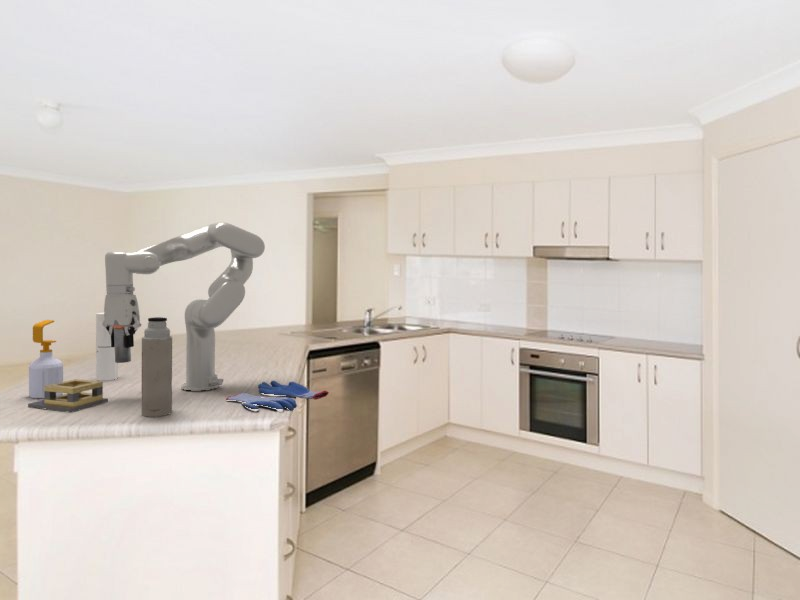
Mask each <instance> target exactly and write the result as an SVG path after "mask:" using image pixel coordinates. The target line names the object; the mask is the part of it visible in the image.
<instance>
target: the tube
mask: <svg viewBox="0 0 800 600" xmlns="http://www.w3.org/2000/svg"><path fill="white" fill-rule="evenodd" d="M128 328H129V330H130V327H128ZM113 329H114V347H115V362H116V363H118V364H123V363H129V362H131V361H132V354H131V350H132V349H131V348H132V347H129V348H125V345H124V336H125V335H126V334H125V329H124V326H121V325H119V323H118V322H117V320H115V321H114V325H113Z"/></svg>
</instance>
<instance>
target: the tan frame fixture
mask: <svg viewBox="0 0 800 600" xmlns="http://www.w3.org/2000/svg"><path fill="white" fill-rule="evenodd" d="M103 383H104V382H103V381H98V380H90V379H77V378H75V379H71V380H70V379H69V380H66V381H63V382H60V383H56V384H51V385H46V386H44V398H43V400H38V401H33V402H30V403H28V404H27V407H28V408H31V407H37V408H36V409H40V408H46V409H45V410H48V409H53V410H52V411H56V410H60V411H59V412H65V411H69V412H68V413H73V412H72V411H74V412H77V411H79V409H81V410H83V408H84V409H86V408H87V407H88V408H90V407H93V406H97V405H101V404H105V403H107V402H109V399H108V398H109V397H108V398H107V397H104V395H103V393H104V390H103V389H104V384H103ZM90 390H91V392H86V391H90ZM56 392H59V393H63V394H62V395H60V396H56ZM88 408H87V409H88ZM76 410H77V411H76Z"/></svg>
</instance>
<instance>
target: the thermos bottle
mask: <svg viewBox="0 0 800 600" xmlns="http://www.w3.org/2000/svg"><path fill="white" fill-rule="evenodd" d="M147 321H148V322H147V328H145V329H144V332H143V334H144V336H142V337H141V416H143V417H146V416H148V417H150V418H153V416H158V417H162V416H161V415H164V416H167V415H166V414H168V415H170V414H172V412H173V336H171V335H170V334H171V330H170V328H168V327H167V321H168V318H167V317H161V316H158V317H156V316H155V317H148V319H147ZM169 413H170V414H169ZM148 417H147V418H148Z"/></svg>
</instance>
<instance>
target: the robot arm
mask: <svg viewBox="0 0 800 600" xmlns="http://www.w3.org/2000/svg"><path fill="white" fill-rule="evenodd" d="M220 247H221V248H222V247H224V248H227V249H229V250H230V254H231V260H230V263H229V264H228V266H227V267H226V268H225V269H224V270H223V272H222V273H220V274H219V276H218V277H217V278H216V279H215V280H213V282H212V283H211V284H210V285H209V287H208V290H207V294H208V297H209V298H208V299H202V298H201V299H200V298H199V299H195V300H193V301H191V302H189V303H188V305H187V306H186V308H185V310H184V323H185V329H186V330H185V333H186V334H185V335H186V347H185V348H186V349H185V350H186V351H185V353H186V357H185V358H186V359H185V360H186V361H185V362H186V363H185V371H186V372H185V373H186V374H185V376H186V377H185V383H182V384H181V389H182V390H183V389H184V391H186V390H191V391H190V392H202V391H201V390H206V391H211V390H210V389H212V390H215V389H214V388H216V389H218V388H219V387H220V386H222V385H223V382H224V379H223V378H218V374H215V373H216V333H215V329H216V328H218V327H220V326H221V325H222V324H224V322H225V321H226V320H227V319H228V318H229V317H230V316H231V315H232V314H233V313H234V312H235V310H236V309H237V308H239V306H240V305H241V304H242V302H243V300H244V299H245V296H246V288H245V283H246V282H247V281H248V280H249V278H250V277H252V273H253V269H254V268H253V267H254V260H253V259H256V258H259V257H261V256H262V255H263V254H264V252H265V248H266V246H265V242H264V240H263V239H262V238H261V237H260V236H259V235H257V234H254V233H252V232H250V231H248V230H245V229H243V228H240V227H239V226H236V225H234V224H232V223H229V222H226V221H225V222H224V221H222V222H215V223H210V224H207V225H205V226H203V227H202V226H201V227H199V228H197V229H194V230H191V231H189V232H188V231H187V232H185V233H183V234H180V235H177V236H175V237H172V238H170V239H167V240H165V241H162V242H160V243H157V244H154V245H151V246H148V247H145V248H142V249H139V250H138V251H135V252H127V251H109V252H107V253H105V255H104V268H105V284H106V285H105V286H106V287H105V288H106V294H105V298H104V305H103V307H104V308H103V313H104V321H103V323H102V325H103V326H104V327H105V328H106V329H107V330H108V332H109V335H111V347H114V329H113V325H114V321H115V320H117V322H118V323H119V325H121V326H124V329H125V334H126V335H125V336H124V345H125V348H129V347H131V348H133V347H134V345H135V341H134V335H136V332H137V331H138V329H140V328H141V327H142V323H141V322H140V321H141V320H140V317H141V316H140V307H139V303H138V299H137V296H136V294H134V292H135V290H136V288H135V287H134V278H133V277H134V276H133V274H137V275H151V274H154V273H156V272H157V271H159V269H160V267H162V266H164V265H165V266H166V265H168V264H171V263H176V262H182V261H186V260H190V259H193V258H195V257H197V256H200V255H202V254H205V253H208V252H211V251H212V250H214V249H215V250H216V249H217V248H220ZM128 327H130V330H129V328H128ZM217 387H218V388H217Z"/></svg>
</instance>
